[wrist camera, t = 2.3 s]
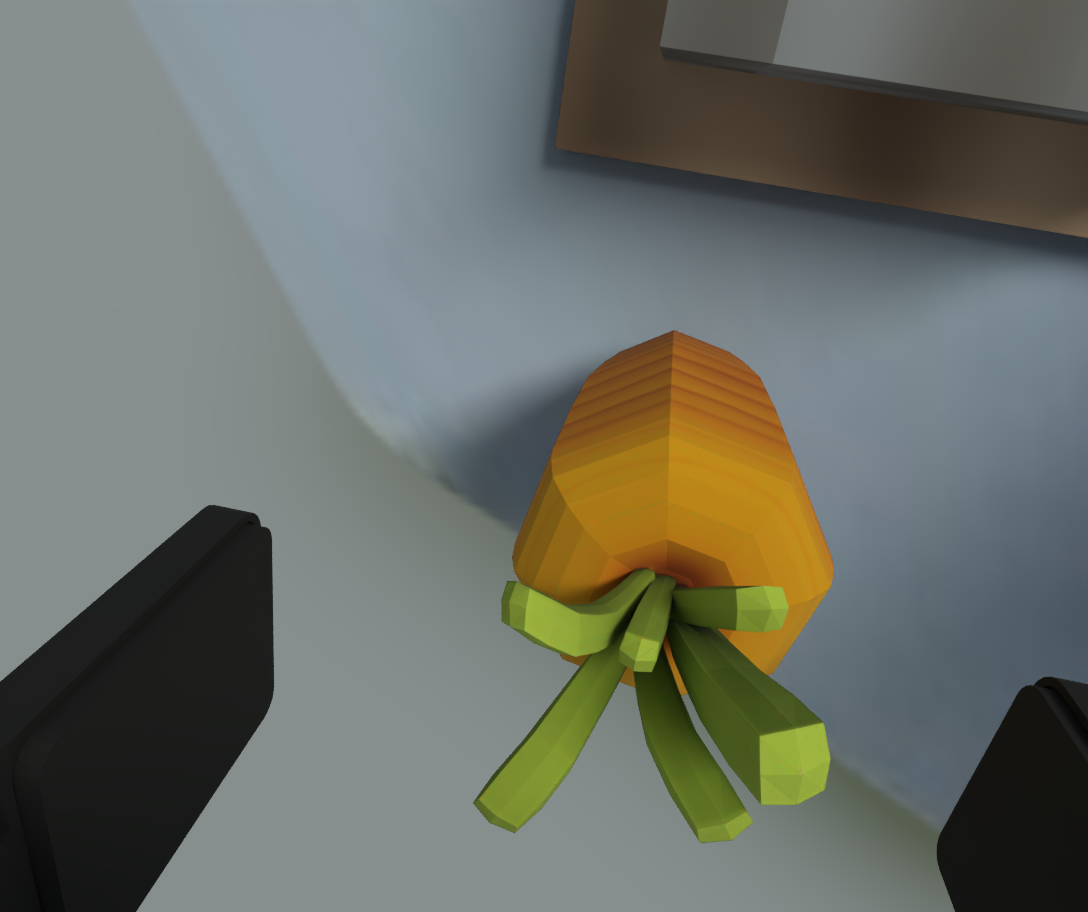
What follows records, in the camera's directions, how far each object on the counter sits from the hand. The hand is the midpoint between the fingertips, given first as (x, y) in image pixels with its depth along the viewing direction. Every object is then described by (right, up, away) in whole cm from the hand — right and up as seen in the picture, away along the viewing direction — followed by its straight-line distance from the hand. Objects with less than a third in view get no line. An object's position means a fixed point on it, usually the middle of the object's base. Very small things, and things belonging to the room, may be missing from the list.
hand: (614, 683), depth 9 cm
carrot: (+3, +6, +11) cm, 13 cm away
